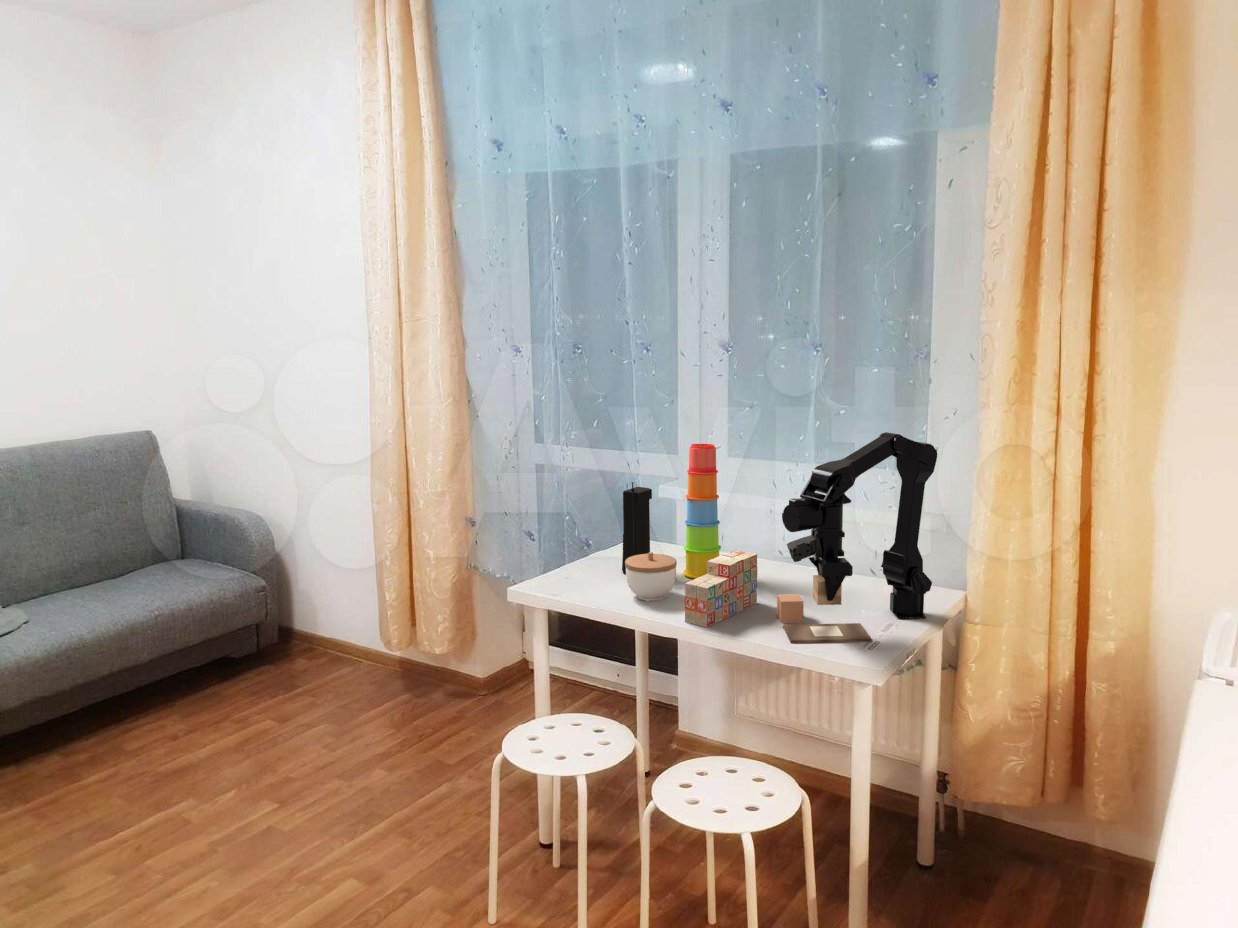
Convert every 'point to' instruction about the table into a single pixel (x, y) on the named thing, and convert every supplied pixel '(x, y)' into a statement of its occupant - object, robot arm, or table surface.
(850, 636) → the brown flat panel
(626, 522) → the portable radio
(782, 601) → the terracotta cube
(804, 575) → the table surface
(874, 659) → the table surface
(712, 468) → the stacking cups
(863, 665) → the table surface
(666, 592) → the lidded bowl
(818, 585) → the oak cube
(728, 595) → the stack of blocks
